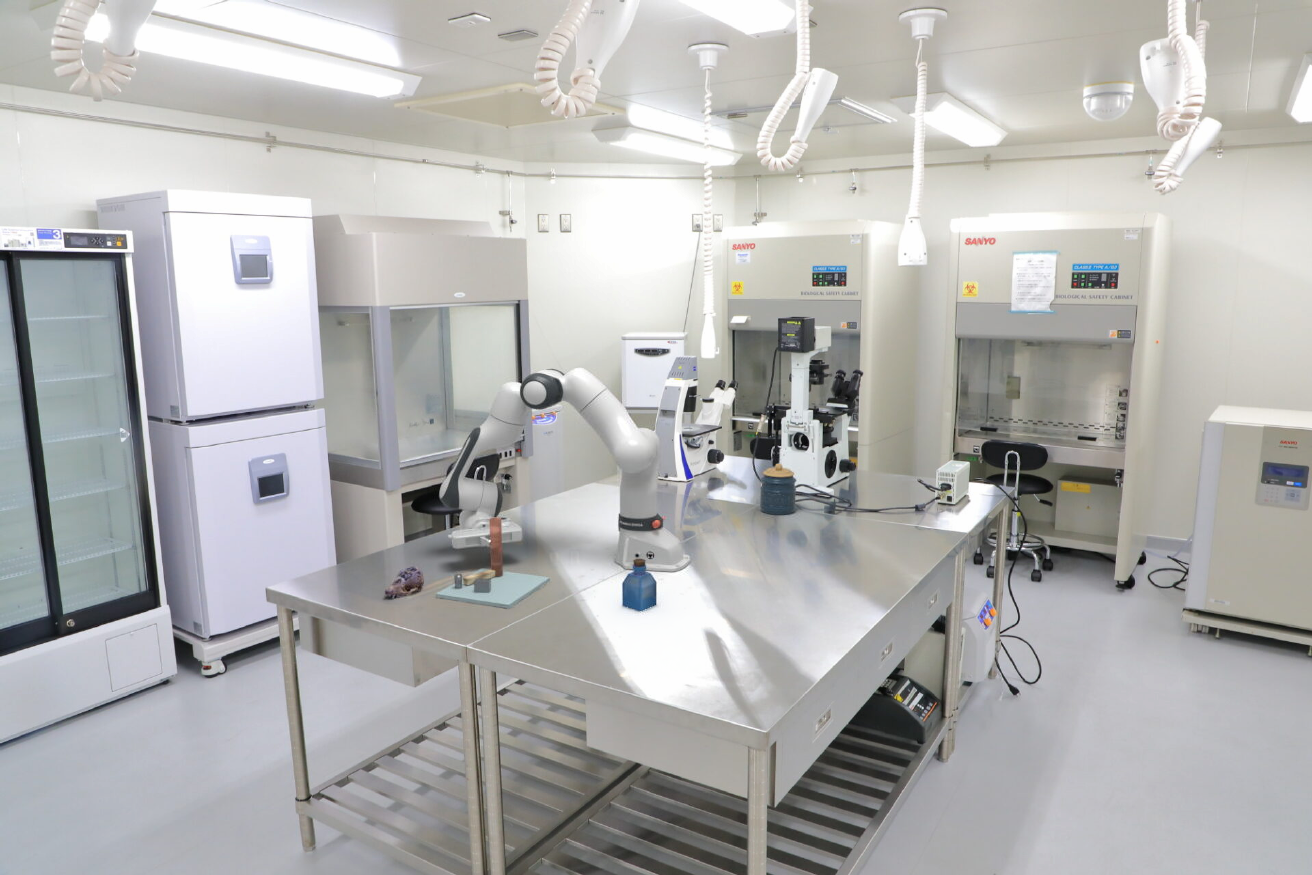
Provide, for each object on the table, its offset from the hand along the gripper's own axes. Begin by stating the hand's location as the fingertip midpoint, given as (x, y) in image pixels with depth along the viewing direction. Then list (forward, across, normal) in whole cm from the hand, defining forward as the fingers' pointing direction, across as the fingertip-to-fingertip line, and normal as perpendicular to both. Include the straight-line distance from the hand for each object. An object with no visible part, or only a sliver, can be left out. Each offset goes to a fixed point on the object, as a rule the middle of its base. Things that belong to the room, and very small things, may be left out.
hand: (492, 543), depth 240 cm
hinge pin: (+10, -12, +9) cm, 18 cm away
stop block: (+15, -6, +9) cm, 19 cm away
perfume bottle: (+39, +28, +9) cm, 49 cm away
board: (+12, -3, +9) cm, 15 cm away
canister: (-27, +111, +10) cm, 115 cm away
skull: (+4, -26, +9) cm, 28 cm away
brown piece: (+6, -4, +8) cm, 11 cm away
